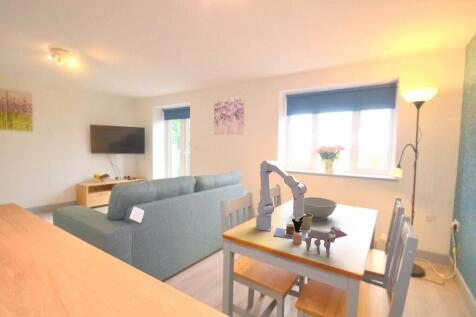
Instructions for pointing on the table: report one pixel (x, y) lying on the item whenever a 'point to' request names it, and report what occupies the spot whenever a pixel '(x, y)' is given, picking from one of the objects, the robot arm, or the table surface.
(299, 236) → the terracotta block
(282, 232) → the board
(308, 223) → the flower pot
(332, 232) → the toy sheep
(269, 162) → the robot arm
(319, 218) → the decorative bowl
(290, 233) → the walnut block
